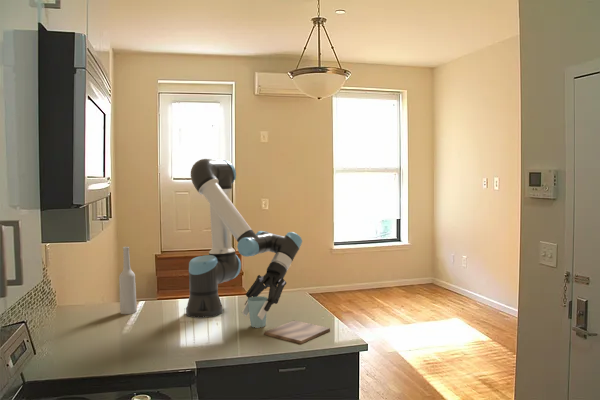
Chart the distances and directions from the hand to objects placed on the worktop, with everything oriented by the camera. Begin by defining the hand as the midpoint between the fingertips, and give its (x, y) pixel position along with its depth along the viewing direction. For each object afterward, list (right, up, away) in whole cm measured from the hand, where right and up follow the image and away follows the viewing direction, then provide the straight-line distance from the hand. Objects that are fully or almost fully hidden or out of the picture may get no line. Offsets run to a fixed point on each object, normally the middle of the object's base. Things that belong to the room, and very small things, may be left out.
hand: (251, 315), depth 185 cm
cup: (+2, -5, +3) cm, 6 cm away
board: (+17, -5, -6) cm, 19 cm away
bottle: (-55, -5, +26) cm, 61 cm away
